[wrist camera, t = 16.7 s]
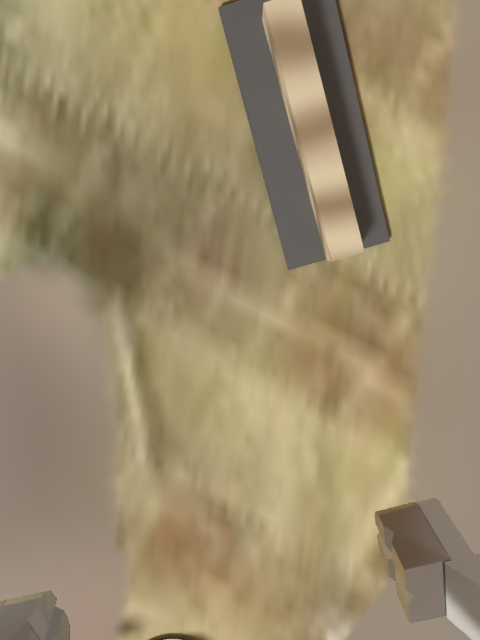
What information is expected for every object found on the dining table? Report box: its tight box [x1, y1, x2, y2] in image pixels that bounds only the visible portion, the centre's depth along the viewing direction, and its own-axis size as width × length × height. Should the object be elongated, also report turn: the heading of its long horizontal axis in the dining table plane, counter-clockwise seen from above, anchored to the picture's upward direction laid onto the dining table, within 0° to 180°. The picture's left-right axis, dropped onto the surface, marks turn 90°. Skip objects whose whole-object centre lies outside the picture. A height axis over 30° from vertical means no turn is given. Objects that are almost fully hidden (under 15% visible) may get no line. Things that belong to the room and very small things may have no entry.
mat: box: [219, 0, 390, 270], centre depth 42 cm, size 24×10×1 cm, turn 16°
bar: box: [262, 0, 365, 262], centre depth 40 cm, size 22×3×3 cm, turn 17°
